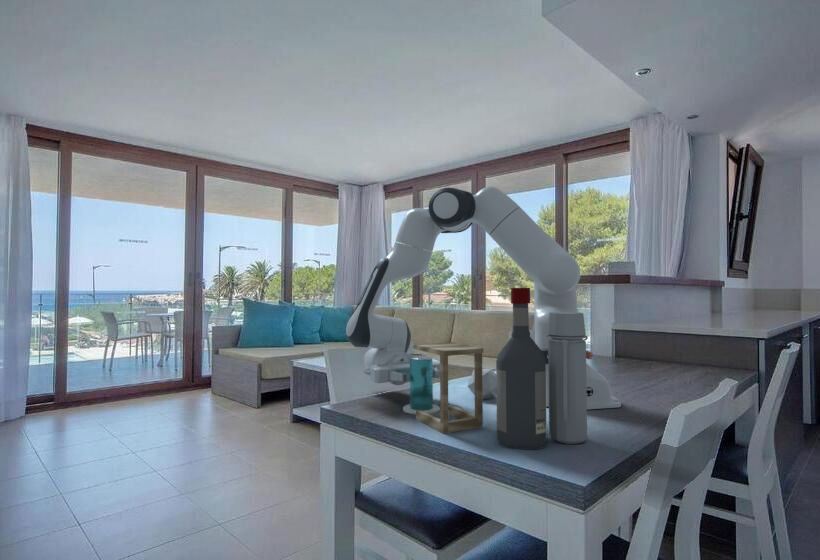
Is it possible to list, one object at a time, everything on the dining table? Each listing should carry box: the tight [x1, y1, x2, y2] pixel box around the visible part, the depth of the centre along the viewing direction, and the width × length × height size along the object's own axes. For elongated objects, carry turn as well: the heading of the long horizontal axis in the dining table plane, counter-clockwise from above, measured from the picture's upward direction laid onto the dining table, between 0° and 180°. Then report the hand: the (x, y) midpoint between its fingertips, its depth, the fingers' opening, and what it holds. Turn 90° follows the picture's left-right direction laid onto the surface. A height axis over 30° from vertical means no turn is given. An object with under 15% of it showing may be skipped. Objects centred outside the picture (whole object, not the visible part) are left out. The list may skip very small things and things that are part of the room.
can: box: [409, 356, 434, 411], centre depth 116 cm, size 6×6×12 cm
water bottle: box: [546, 311, 589, 445], centre depth 92 cm, size 9×8×25 cm
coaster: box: [402, 403, 440, 416], centre depth 116 cm, size 9×9×1 cm
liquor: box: [495, 287, 547, 451], centre depth 92 cm, size 9×9×30 cm
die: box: [467, 368, 497, 400], centre depth 129 cm, size 8×9×10 cm
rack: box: [414, 341, 484, 434], centre depth 105 cm, size 13×10×17 cm
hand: (421, 376), depth 116 cm, fingers open, 8 cm apart
